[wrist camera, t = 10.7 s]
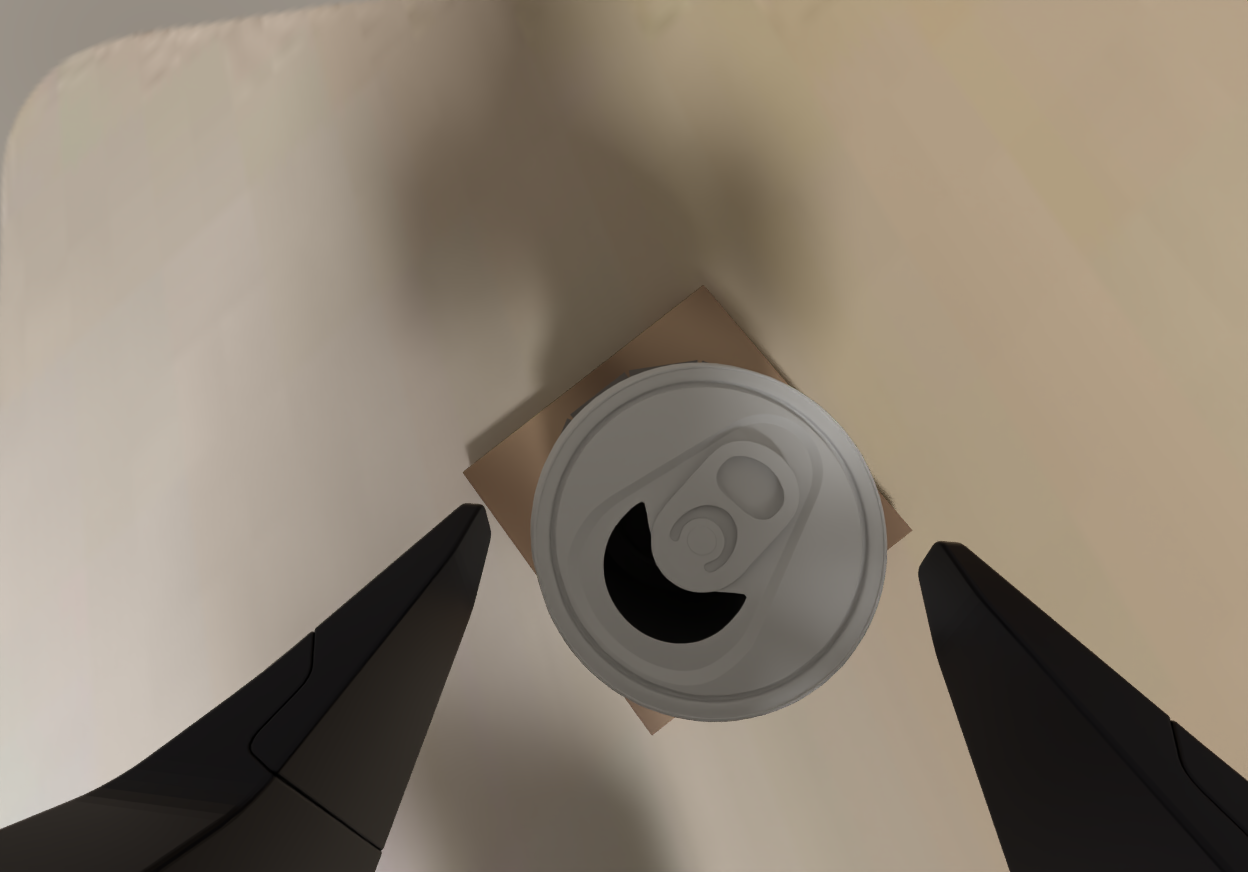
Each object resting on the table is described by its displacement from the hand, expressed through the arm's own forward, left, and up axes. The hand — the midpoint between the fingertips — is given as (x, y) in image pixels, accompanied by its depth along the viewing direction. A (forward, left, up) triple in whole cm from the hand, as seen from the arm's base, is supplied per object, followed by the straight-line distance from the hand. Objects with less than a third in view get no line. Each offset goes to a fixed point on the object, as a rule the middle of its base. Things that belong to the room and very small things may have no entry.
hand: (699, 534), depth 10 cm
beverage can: (0, 0, -10) cm, 10 cm away
